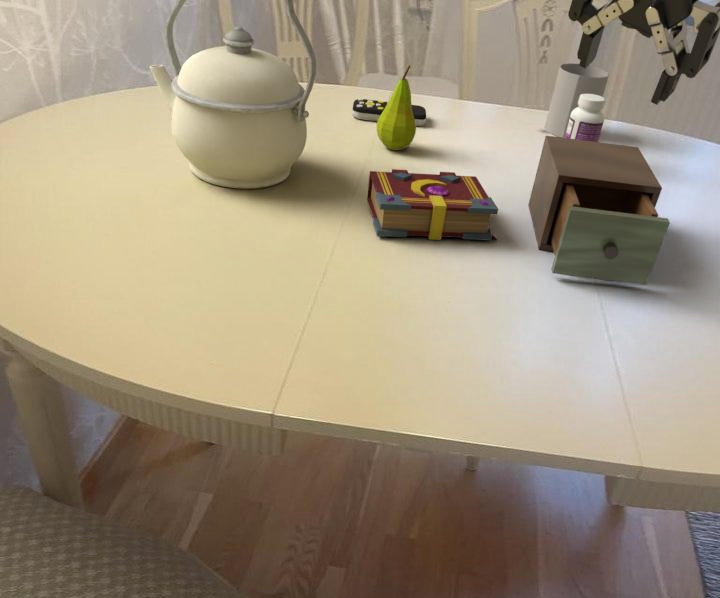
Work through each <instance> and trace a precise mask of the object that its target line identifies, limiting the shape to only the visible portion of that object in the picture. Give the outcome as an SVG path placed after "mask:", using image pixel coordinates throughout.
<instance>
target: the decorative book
mask: <svg viewBox="0 0 720 598" xmlns="http://www.w3.org/2000/svg"><path fill="white" fill-rule="evenodd" d="M366 200H367V201H366V202H367V204H368V207H369V210H370V213H371V217H372V225H373V228H374V231H375V234H376V237H395V238H396V237H398V238H407V237H408V236H416V237H421V236H422V237H427V239H428V240H436V241H437V240H438V241H439V240H440V241H441V240H442V237H443V238H462V240H477V241H478V240H479V241H492V239H493V237H494V238H495V240H498V239H497V237H496V235H495V234H494V233H493V232H492V231H491V229H490V227H489V226H490V222H491V219H493V217H492V215H498V212H499V208H498V206H497V205H496V203H495V202H494V200H493V198H492V197H491V196H489V195H488V193H487V192H486V190H485V189H484V187H483V185H482V183H481V182H480V180H479V179H478V177H477V176H475V175H473V176H472V175H457V174H456V172H454V171H453V172H452V171H451V172H450V171H439V174H432V173H415V172H409V171H408V169H397V168H396V169H394V168H393V169H391V171H376V170H375V171H374V170H370V171H369V176H368V185H367V194H366Z"/></svg>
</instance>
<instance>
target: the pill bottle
mask: <svg viewBox="0 0 720 598" xmlns="http://www.w3.org/2000/svg"><path fill="white" fill-rule="evenodd" d="M605 103H606V98H605V97H604V96H603V97H601V96H599V95H594V94H581V95H580V98H579V101H578V106H579V107H577V108H575V109H574V110H573V111H572V112H571V115H570V119H569V123H568V127H567V131H566V135H565V138H570V139H577V140H585V141H593V142H599V139H600V136H601V132H602V129H603V126H604V122H605V115H604V113H603V111H602V110H603V109H604V107H605Z"/></svg>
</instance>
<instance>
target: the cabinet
mask: <svg viewBox="0 0 720 598" xmlns="http://www.w3.org/2000/svg"><path fill="white" fill-rule="evenodd" d="M534 177H535V178H534V181H533V185H532V189H531V193H530V197H529V201H528V209H529V213H530V218H531V222H532V227H533V230H534V236H535V240H536V244H537V247H538V250H539V251H546V252H553V253H554V251H553V247H552V243H551V239H550V236H549V233H550V229H551V226H552V222H553V219H554V215H555V211H556V208H557V204H558V201H559V197H560V193H561V190H562V186H563V182H566V183H574V184H582V185H590V186H598V187H606V188H614V189H622V190H629V191H637V192H645V193H647V195H648V196H649V198H650V200H651V202H652V204H653V206H654V207H655V208H656V206H657V204H658V200H659V198H660V195H661V193H662V189H663V187H662V185H661V184H660V182H659V180H658V178H657V177H656V175H655V173H654V171H653V170H652V169H651V167H650V165H649V164H648V162H647V160H646V158H645V157H644V155H643V153H642V151H641V149H640V148H639V147H638V146H632V145H624V144H618V143H617V144H616V143H609V142H600V141H598V142H593V141H585V140H577V139H570V138H562V137H559V136H555V135H545V136H544V141H543V145H542V149H541V153H540V156H539V162H538V165H537V169H536V173H535V176H534Z"/></svg>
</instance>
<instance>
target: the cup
mask: <svg viewBox="0 0 720 598" xmlns="http://www.w3.org/2000/svg"><path fill="white" fill-rule="evenodd" d="M579 64H580V63H572V62H571V63H563V64H561V65H560V66H559V68H558V72H557V76H556V80H555V84H554V88H553V92H552V96H551V100H550V105H549V109H548V113H547V116H546V121H545V125H544V130H545V131H546V132H547V133H549V134H551V135H552V136H554V137H562V138H565V135H566V131H567V127H568V123H569V119H570V115H571V112H572V111H573V110H574V109H575V108H577V107H579V106H578V101H579V98H580V95H581V94H594V95H599V96H601V97H603V98H604V94H605V90H606V88H607V83H608V80H609V76H610V73H609V72H608V71H607V70H604V69H602V68H600V67H597V66H594V65H591V64H590V65H589V66H588V67H587V68H586V69H585V68H583V67H581V66H579Z"/></svg>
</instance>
